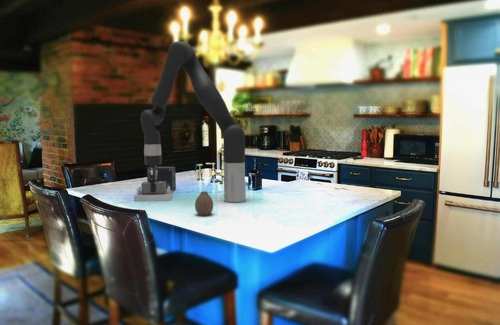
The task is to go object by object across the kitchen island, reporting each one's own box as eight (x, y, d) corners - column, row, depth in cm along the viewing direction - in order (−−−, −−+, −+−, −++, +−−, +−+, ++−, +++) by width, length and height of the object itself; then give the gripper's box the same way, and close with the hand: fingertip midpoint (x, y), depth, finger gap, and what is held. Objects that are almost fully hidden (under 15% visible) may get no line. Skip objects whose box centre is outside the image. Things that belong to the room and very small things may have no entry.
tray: (172, 195, 190) (172, 185, 189) (171, 200, 179) (170, 189, 178) (137, 196, 187) (137, 185, 187) (134, 201, 177) (133, 190, 176)
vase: (204, 211, 157) (204, 189, 156) (217, 214, 153) (216, 191, 152) (191, 214, 152) (190, 192, 151) (204, 217, 148) (203, 194, 147)
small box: (176, 189, 206) (176, 166, 204) (172, 192, 199) (172, 168, 198) (151, 189, 207) (151, 166, 206) (146, 191, 200) (146, 167, 199)
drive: (165, 193, 186) (165, 181, 185) (164, 196, 181) (164, 183, 180) (143, 194, 185) (143, 181, 184) (141, 196, 180) (141, 183, 179)
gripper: (160, 155, 174) (161, 193, 176) (162, 152, 188) (163, 188, 190) (142, 155, 173) (143, 194, 175) (146, 152, 187) (147, 188, 189)
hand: (153, 190), depth 183 cm, fingers open, 6 cm apart
